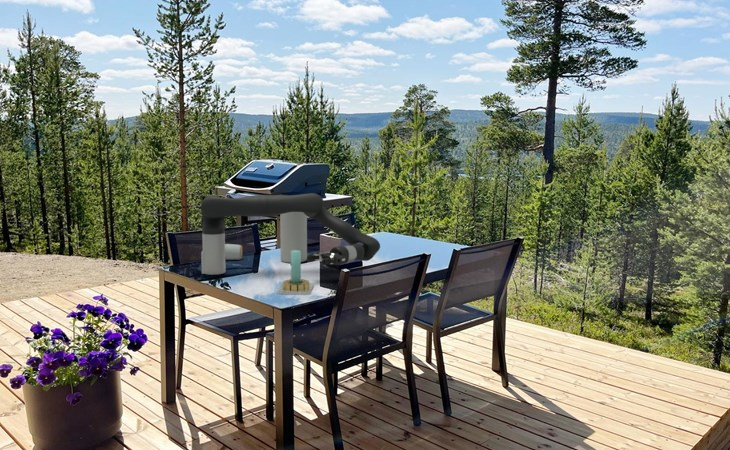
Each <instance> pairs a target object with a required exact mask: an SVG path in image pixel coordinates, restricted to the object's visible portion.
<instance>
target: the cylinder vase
mask: <svg viewBox="0 0 730 450" xmlns="http://www.w3.org/2000/svg"><path fill="white" fill-rule="evenodd" d="M279 218H280V220H279V221H280V222H279V225H280V226H279V227H280V228H279V229H280V237H279V238H280V261H281V262H283V263H288V264H291V251H293V250H299V251H301V263H304V262H306V261H307V256H308V226H307V225H308V216H307V215H305V214H304V213H303V212H288V213H284V214H280V216H279Z"/></svg>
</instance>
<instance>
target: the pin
mask: <svg viewBox="0 0 730 450" xmlns="http://www.w3.org/2000/svg"><path fill="white" fill-rule="evenodd" d="M290 264H291V265H290V268H291V269H290V272H291V273H290V279H291V283H292V284H299V283H301V279H302V278H301V276H302V267H301V265H302V262H301V251H299V250H293V251H291V263H290Z"/></svg>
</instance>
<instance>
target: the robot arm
mask: <svg viewBox="0 0 730 450" xmlns="http://www.w3.org/2000/svg"><path fill="white" fill-rule="evenodd" d="M324 203H325V202H324V199H323V197H322V196H321V195H319V194H317V193H314V192H310V193H302V194H293V195H284V194H254V195H247V196H241V197H236V198H234V197H233V198H232V197H221V196H219V195H216V194H211V195H207V196H206V197H205V198H203V200H202V202H201V204H200V212H201V213H202V215H201V216H202V224H201V233H202V237H201V238H202V241H201V242H202V250H201V252H200V256H201V262H200V263H201V264H200V265H201V274H202V275H204V274H205V275H210V276H211V275H212V276H213V275H221V274H225V273H226V260H225V244H226V235H225V234H226V233H225V231H226V230H225V229H226V227H225V223H226V218H225V217H234V216H235V217H236V216H237V217H238V216H239V217H259V218H260V217H275V216H279V215H280V214H284V213H288V212H303V213H304V214H305V215H307V217H309V218H310V219H313V220H314V221H316V222H318V223H319V224H321V225H323V226H324V227H326V228H328V229H329V230H331V231H332V232H334V234H336V235H337V236H339V238H341V239H343V240H344V241H345V242H346V243H347V244H345V245H337V246H333V247H332V248H331V250H329V251H326V252H324V251H319V252H313V253H311V255H307V260H306V261H307V263H310V262H316V261H318V262H321V265H322V266H326V265H335V266H341V265H344V264H348V263H352V262H355V261H364V262H368V261H370V260H372V259H373V258H374V257H375V255H376V254H377V253H378V252H379V250H380V249H381V243H380V241H378V239H377V238H374V236H370V235H368V234H366V233H364V232H361V231H360V230H358V229H357V228H356V227H354V226H353V225H352V224H350V223H349V222H347V221H345V220H344V219H341V218H339V217H338V216H336V215H335V214H332V213H331V212H330V211H328V209H326V207H325V206H324V205H325V204H324Z"/></svg>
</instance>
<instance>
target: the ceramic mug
mask: <svg viewBox="0 0 730 450" xmlns="http://www.w3.org/2000/svg"><path fill="white" fill-rule="evenodd" d="M241 259H243V245H241V244H232V243H225V261H233V260H234V261H237V260H239V261H240V260H241Z"/></svg>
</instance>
